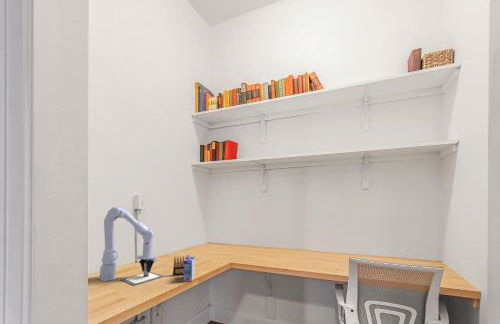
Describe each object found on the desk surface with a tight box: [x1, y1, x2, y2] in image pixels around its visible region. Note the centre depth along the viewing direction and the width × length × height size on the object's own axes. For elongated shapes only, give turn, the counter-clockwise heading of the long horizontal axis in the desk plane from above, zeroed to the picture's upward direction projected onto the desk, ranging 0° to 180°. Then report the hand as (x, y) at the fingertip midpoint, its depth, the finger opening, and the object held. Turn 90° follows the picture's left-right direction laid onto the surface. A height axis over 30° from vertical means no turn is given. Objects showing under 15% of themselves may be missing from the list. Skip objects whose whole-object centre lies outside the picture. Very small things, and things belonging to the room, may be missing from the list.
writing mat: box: [119, 271, 164, 286], centre depth 155 cm, size 16×20×1 cm
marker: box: [143, 262, 149, 277], centre depth 157 cm, size 3×3×8 cm
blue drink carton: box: [183, 254, 196, 282], centre depth 155 cm, size 10×6×14 cm, turn 2°
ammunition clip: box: [172, 255, 190, 277], centre depth 163 cm, size 11×2×12 cm, turn 100°
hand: (146, 271), depth 157 cm, fingers closed on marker, 3 cm apart
